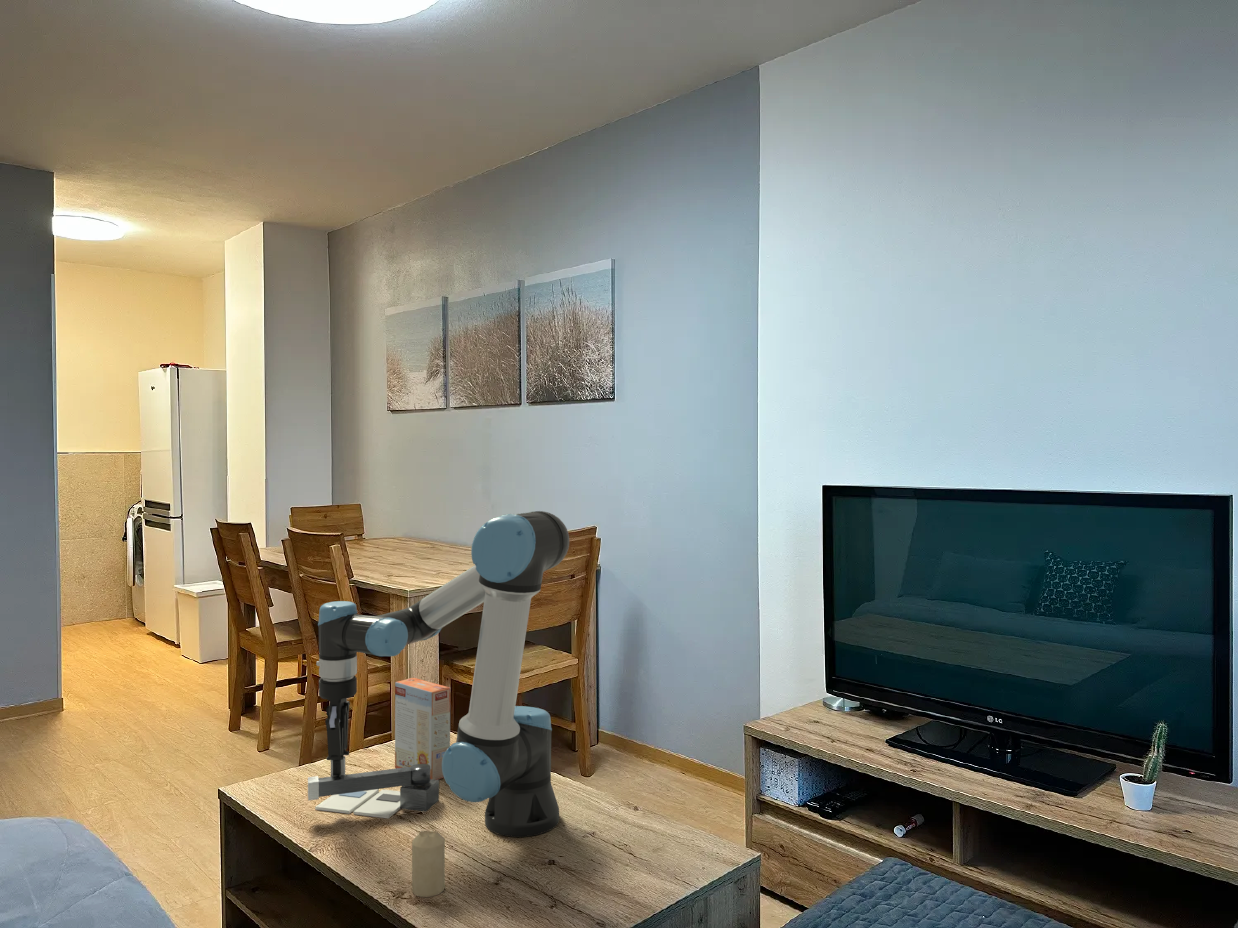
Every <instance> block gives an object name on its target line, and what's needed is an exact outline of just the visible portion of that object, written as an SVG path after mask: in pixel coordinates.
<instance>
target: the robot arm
mask: <svg viewBox="0 0 1238 928" xmlns="http://www.w3.org/2000/svg"><path fill="white" fill-rule="evenodd" d="M569 548H570V534H569V531H568V528H567V526H566V525H565V523H564V522H563V521H562V520H561V518H559V517H558V516H556V515H555V514H553V513H550V512H547V511H543V510H542V511H541V510H537V511H530V512H523V513H516V514H515V513H513V514H512V513H507V514H503V515H499V516H497V517H494V518H492V519H489V520H487V521H486V522H485V523H484V524H483V525H481V526H480V528H478V531H476V533H475V535H474V538H473V540H472V544H471V552H470V553H471V561H472V564H473V566H471V567H469V568H468V569H467V570H465V571H464V572H462V573H460V574H459V575H457V576H456V577H454V578H453V579H451V580H449V581H448V582H446V583H445V584H443V585H441V586H440V587H439V588H437V589H435V590H434V591H432V592H431V593H430V594H427V595H426V596H425V597H423V598H422V599H420V600H418V601H417V602H415V603H414V604H413V605H412V604H411V605H410V606H409V607H406V608H404V609H403V608H402V609H398V610H396V611H391V612H387V613H384V614H380V615H363V614H360V613H358V610H357V607H358V606H357V604H356V603H355V602H353V601H347V600H346V601H345V600H338V601H330V602H326V603H325V602H324V603H322V605H320V607H319V614H318V623H317V626H318V658H319V659H318V660H317V661H316V664H315V665H316V666H317V667H318V676H319V677H320V678H319V680H318V696H319V698H321V699H323V700H328V701H329V704H328V706H326V712H325V713H326V716H327V717H326V718H325V722H324V723H325V727H326V737H327V741H326V742H327V752H328V753H327V754H328V755H327V757H326V761H330V777H332V776H340V775H346V756H349V755H350V750H347V749H348V746H349V745H348V738H349V737H348V736H349V735H348V734H349V733H348V731H349V712H350V711H349V710H350V705H351V702H350V701H349V700H347V699H349V698H352V697H354V696H355V695H357V691H358V690H357V689H358V688H357V687H358V682H357V680H358V679H357V678H358V677H357V676H356V675H357V673H358V654H357V653H360V654H361V653H362V654H367V655H373V656H377V657H396V656H398V655H399V654H400V653H401V652H402V651H403V650H404V649H405V647H406V646H408V645H410V644H414V643H418V642H420V641H426V640H429V639H431V638H433V637H435V636H437V635H438V634H439V633H441V630H442V629H443V628H444V627H446V626H447V625H449V624H450V623H452V622H453V621H455V620H457V619H459V618H460V617H462V616H463V615H465V614H466V613H468V612H470V611H472V610H473V609H475V608H477V607H478V606H480V605H482V604H483V607H482V613H481V614H482V615H481V620H480V621H481V623H480V627H479V628H480V629H479V637H478V644H477V651H476V656H475V665H474V673H473V680H472V687H471V694H470V699H469V700H470V701H469V707H468V713H467V714H466V715H464V716H462V717H461V718H460V719H459V723H458V727H457V734H456V741H455V742H454V743H452V744H450V747H449V748H448V749H447V750H446V751H445V753H444V755H443V758H442V772H443V776H444V778H443V779H444V781H445V783H446V784H447V785H448V786H449V788H450V790H451V792H452V793H453V794H454V795H456V796H457V797H458V798H460V799H461V800H463V801H465V802H469V803H481V802H484V801H485V800H487V799H488V801H487V805H486V808H485V811H484V825H485V827H486V828H487V829H488V830H489V831H490V832H493V833H495V834H496V835H500V836H506V837H516V838H522V837H533V836H537V835H542V834H544V833H547V832H549V831H551V830H553V829H554V828H556V827H557V825H558V824H559V822H560V807H559V804H558V800H557V797H556V794H555V791H554V788H553V784H552V777H551V776H552V775H551V774H552V731H553V728H552V723H551V715H550V713H549V712H548V711H546V710H545V709H542V708H539V707H533V706H525V705H524V706H523V705H520V706H519V705H516V704H517V698H518V691H519V684H520V679H521V678H520V677H521V672H522V671H521V669H522V662H523V656H524V648H525V641H526V636H527V631H528V630H527V628H528V623H529V614H530V609H531V602H532V601H531V600H532V598H533V597H534V596H536V595H538V593H540V592H541V588H542V583H543V575H544V573H545V572H546V571H548V570H550V569H552V568H553V569H554V567H556V566H558V565H559V564H560V563H562V561H563V560H565V557H566V556H567V553H568V551H569Z"/></svg>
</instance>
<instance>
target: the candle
mask: <svg viewBox="0 0 1238 928" xmlns="http://www.w3.org/2000/svg"><path fill="white" fill-rule="evenodd" d="M445 841H446V839H445V837H444V836H443V835H441V833H440V832H438V831H437V830H435V831H433V830H432V831H430V830H421V831H420V832H419V833H418V834H417V835H416V836H415V837H414V838H413V839H412V842H411V870H412V871H411V891H412V893H413V894H414V895H415V896H417V897H421V898H429V897H435V896H437V895H440V894H441V893H442V892H443V891H444V890H445V886H446V885H445V877H446V875H445V870H446V869H445V866H446V865H445V863H446V862H445V861H446V860H445V859H446V858H445V852H446V851H445V850H446V849H445V848H446V847H445V845H446V843H445Z"/></svg>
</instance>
